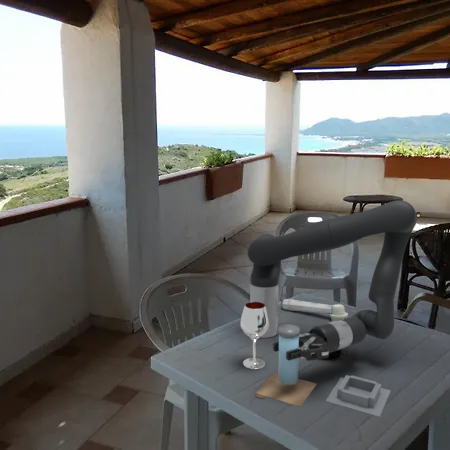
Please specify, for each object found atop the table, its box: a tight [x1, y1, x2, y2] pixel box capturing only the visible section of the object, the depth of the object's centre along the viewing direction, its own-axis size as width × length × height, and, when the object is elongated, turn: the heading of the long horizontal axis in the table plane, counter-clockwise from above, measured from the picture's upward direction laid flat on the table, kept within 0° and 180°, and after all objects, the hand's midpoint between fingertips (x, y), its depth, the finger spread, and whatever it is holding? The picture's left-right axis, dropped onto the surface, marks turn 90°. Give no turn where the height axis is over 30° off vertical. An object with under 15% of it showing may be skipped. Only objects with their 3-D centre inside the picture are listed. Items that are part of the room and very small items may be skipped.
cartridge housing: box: [325, 374, 392, 418], centre depth 117 cm, size 13×13×4 cm
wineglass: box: [240, 301, 269, 370], centre depth 134 cm, size 8×8×18 cm
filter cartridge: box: [277, 323, 301, 385], centre depth 119 cm, size 5×5×14 cm
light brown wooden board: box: [255, 371, 317, 408], centre depth 121 cm, size 12×12×1 cm
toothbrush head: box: [280, 298, 349, 322], centre depth 171 cm, size 5×7×25 cm
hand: (280, 351), depth 117 cm, fingers closed on filter cartridge, 5 cm apart
